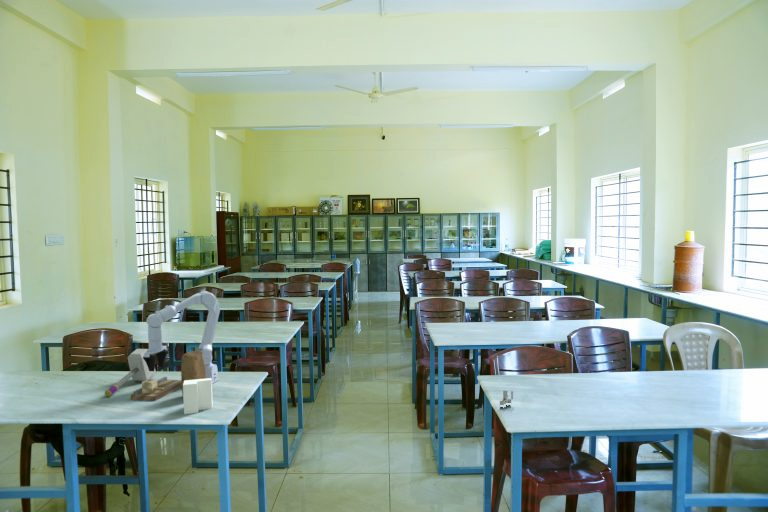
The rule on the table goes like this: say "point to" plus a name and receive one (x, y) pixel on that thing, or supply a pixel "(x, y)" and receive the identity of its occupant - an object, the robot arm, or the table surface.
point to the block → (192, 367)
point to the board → (162, 383)
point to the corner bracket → (197, 395)
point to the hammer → (134, 371)
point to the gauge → (150, 386)
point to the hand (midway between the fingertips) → (156, 368)
